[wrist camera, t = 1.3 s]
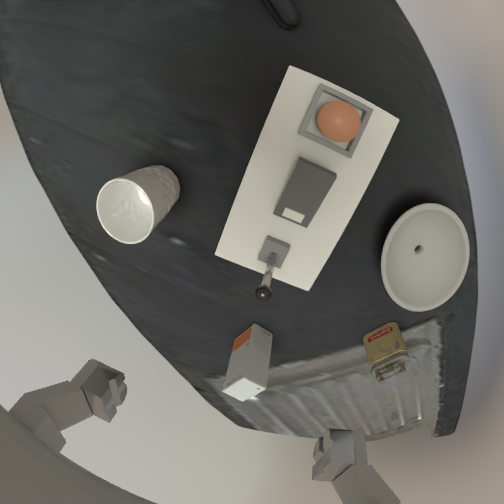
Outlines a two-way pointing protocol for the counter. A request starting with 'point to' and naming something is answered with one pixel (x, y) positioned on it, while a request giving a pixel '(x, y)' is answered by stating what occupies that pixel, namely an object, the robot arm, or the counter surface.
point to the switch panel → (280, 168)
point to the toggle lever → (266, 280)
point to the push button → (338, 121)
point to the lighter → (385, 351)
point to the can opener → (283, 12)
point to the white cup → (137, 202)
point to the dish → (425, 257)
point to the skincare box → (249, 363)
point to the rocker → (304, 192)
